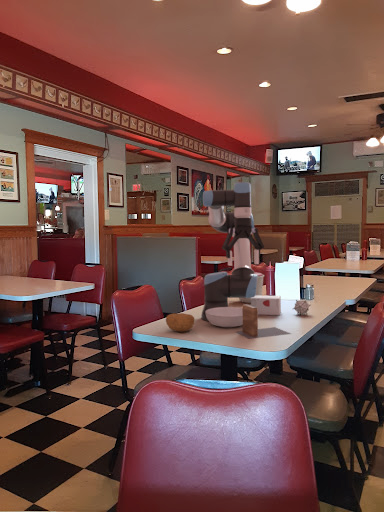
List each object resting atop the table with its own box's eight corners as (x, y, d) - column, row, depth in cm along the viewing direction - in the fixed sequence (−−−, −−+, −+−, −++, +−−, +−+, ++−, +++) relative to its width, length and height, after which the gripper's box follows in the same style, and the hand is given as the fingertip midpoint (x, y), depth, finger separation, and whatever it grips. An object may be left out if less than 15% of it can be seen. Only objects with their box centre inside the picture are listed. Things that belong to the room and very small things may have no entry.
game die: (298, 322, 211) (287, 307, 210) (302, 313, 218) (290, 299, 217) (313, 315, 205) (301, 300, 205) (316, 306, 212) (304, 291, 212)
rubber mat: (248, 339, 164) (248, 338, 164) (234, 332, 176) (234, 331, 176) (291, 334, 171) (291, 333, 171) (274, 328, 183) (274, 327, 183)
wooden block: (252, 336, 167) (252, 307, 166) (242, 332, 175) (242, 304, 175) (258, 336, 168) (257, 307, 167) (247, 331, 176) (247, 304, 176)
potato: (173, 327, 189) (173, 310, 189) (199, 330, 181) (198, 313, 181) (160, 331, 181) (160, 314, 180) (186, 335, 173) (186, 317, 173)
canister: (252, 305, 241) (251, 269, 240) (229, 302, 254) (228, 268, 253) (270, 301, 253) (270, 267, 252) (248, 298, 266) (247, 266, 265)
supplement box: (250, 297, 214) (279, 298, 209) (252, 295, 222) (280, 295, 218) (250, 314, 214) (279, 315, 210) (253, 311, 223) (281, 312, 218)
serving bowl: (214, 332, 177) (214, 317, 176) (200, 322, 197) (199, 308, 196) (258, 328, 182) (258, 313, 182) (240, 319, 203) (239, 305, 202)
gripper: (221, 217, 174) (222, 266, 175) (271, 216, 183) (271, 263, 184) (214, 218, 181) (214, 265, 182) (262, 217, 190) (262, 262, 191)
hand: (243, 264), depth 183 cm, fingers open, 13 cm apart
